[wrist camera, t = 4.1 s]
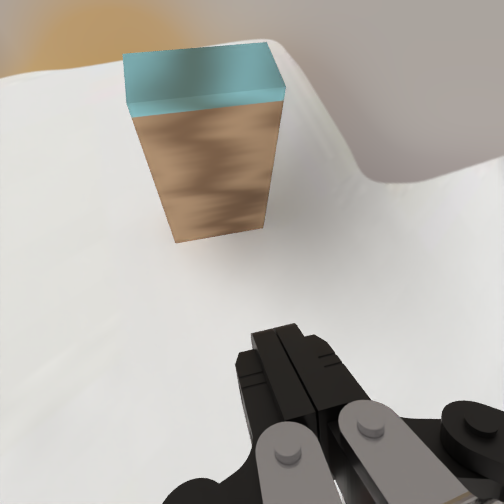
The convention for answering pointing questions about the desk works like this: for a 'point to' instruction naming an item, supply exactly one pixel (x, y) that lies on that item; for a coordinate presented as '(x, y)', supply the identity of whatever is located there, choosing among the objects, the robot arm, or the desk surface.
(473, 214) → the desk surface
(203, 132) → the walnut block
